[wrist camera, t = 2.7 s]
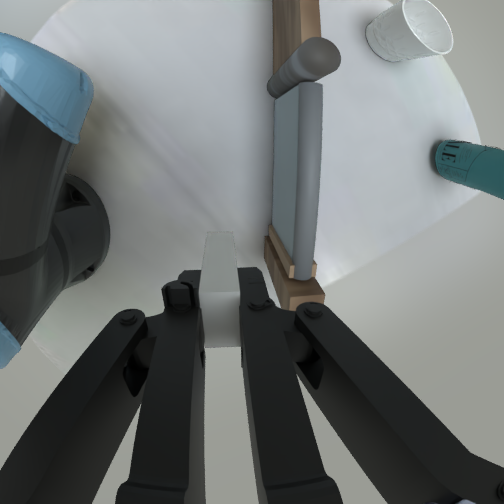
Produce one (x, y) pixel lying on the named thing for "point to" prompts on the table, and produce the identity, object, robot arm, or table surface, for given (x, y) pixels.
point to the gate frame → (283, 80)
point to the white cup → (410, 32)
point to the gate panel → (285, 166)
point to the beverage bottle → (472, 166)
